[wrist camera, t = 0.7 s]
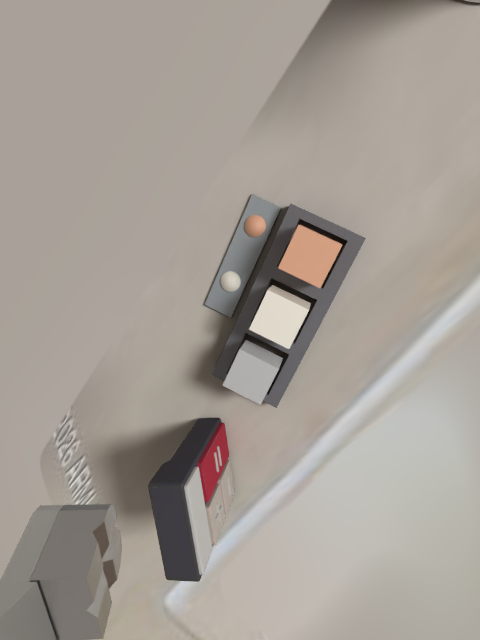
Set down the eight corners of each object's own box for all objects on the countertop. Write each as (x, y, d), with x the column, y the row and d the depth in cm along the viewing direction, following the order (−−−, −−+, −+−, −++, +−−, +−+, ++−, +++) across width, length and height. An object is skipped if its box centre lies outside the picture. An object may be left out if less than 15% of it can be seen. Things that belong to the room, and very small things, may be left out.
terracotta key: (301, 224, 44) (298, 224, 40) (341, 243, 44) (342, 245, 40) (282, 264, 45) (277, 268, 42) (321, 283, 45) (320, 288, 41)
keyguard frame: (292, 204, 47) (290, 203, 44) (363, 237, 46) (365, 238, 44) (217, 367, 53) (211, 374, 50) (278, 399, 52) (276, 407, 50)
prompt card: (252, 194, 47) (251, 194, 47) (281, 207, 47) (280, 207, 47) (205, 304, 51) (203, 304, 51) (231, 317, 51) (230, 318, 50)
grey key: (246, 339, 48) (239, 349, 44) (282, 358, 47) (279, 369, 44) (230, 373, 49) (222, 385, 45) (265, 391, 49) (260, 405, 45)
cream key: (272, 284, 46) (267, 289, 42) (310, 303, 45) (309, 309, 42) (255, 321, 47) (248, 329, 44) (292, 339, 47) (289, 349, 43)
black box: (237, 493, 56) (206, 584, 42) (207, 493, 57) (166, 582, 43) (226, 416, 54) (189, 484, 40) (194, 417, 55) (147, 484, 41)
